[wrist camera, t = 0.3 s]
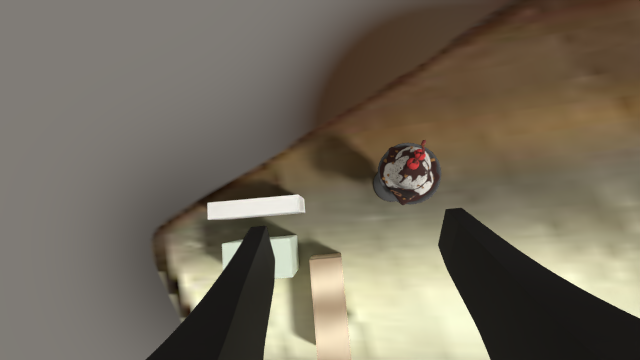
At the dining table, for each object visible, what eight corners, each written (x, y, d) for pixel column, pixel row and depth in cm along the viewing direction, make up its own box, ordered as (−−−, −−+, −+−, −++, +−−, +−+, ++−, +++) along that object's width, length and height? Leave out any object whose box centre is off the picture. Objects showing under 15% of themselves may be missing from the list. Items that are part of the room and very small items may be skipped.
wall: (305, 212, 40) (299, 211, 33) (229, 219, 41) (207, 219, 34) (304, 198, 40) (298, 194, 34) (228, 205, 41) (207, 202, 34)
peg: (349, 344, 38) (351, 361, 33) (319, 346, 38) (317, 363, 33) (340, 252, 39) (341, 257, 35) (312, 255, 40) (309, 260, 35)
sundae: (397, 152, 41) (434, 114, 26) (423, 192, 40) (476, 176, 25) (358, 175, 41) (372, 150, 26) (383, 216, 40) (413, 214, 25)
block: (299, 267, 39) (292, 277, 33) (241, 272, 39) (223, 282, 33) (297, 234, 40) (290, 237, 33) (239, 239, 40) (222, 243, 34)
